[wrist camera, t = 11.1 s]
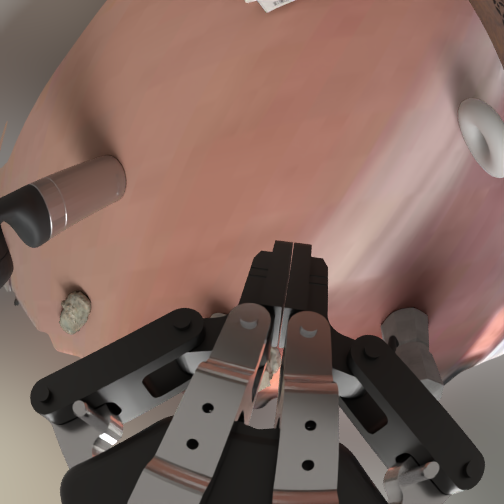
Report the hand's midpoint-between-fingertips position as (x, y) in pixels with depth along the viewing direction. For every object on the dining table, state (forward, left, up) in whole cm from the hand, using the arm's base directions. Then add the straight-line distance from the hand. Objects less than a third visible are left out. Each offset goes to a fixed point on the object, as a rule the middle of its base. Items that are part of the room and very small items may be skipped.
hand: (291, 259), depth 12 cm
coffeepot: (+20, -21, -26) cm, 39 cm away
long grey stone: (-63, -58, -26) cm, 90 cm away
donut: (+18, +10, -26) cm, 34 cm away
